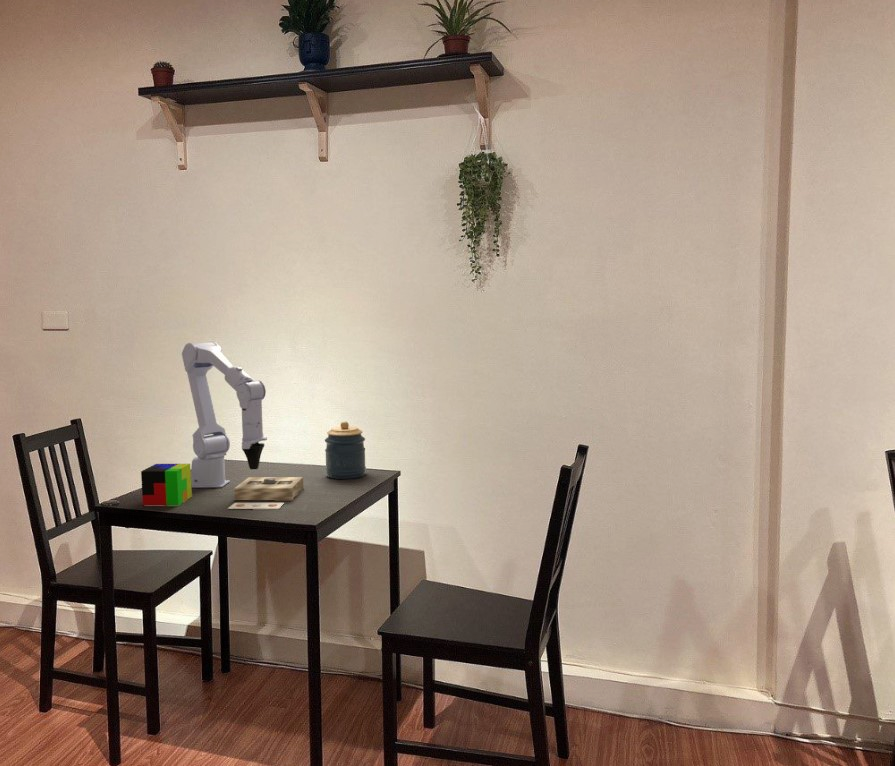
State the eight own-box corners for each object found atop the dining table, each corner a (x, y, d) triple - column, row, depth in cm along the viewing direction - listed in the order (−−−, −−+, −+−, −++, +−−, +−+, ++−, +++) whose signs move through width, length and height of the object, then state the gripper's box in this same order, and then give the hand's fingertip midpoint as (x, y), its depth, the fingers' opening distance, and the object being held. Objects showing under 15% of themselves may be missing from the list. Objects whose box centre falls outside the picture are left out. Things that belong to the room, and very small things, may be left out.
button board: (234, 500, 215) (233, 488, 214) (249, 488, 229) (248, 477, 228) (292, 500, 214) (291, 488, 214) (303, 488, 228) (303, 477, 228)
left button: (247, 491, 220) (247, 484, 220) (250, 488, 223) (250, 482, 223) (258, 491, 220) (258, 484, 220) (261, 488, 223) (261, 482, 223)
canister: (359, 480, 238) (358, 424, 236) (320, 479, 240) (318, 424, 239) (370, 471, 251) (369, 418, 249) (333, 470, 253) (331, 418, 251)
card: (227, 509, 205) (227, 508, 205) (234, 503, 211) (234, 502, 211) (279, 509, 205) (278, 508, 205) (284, 503, 211) (284, 502, 211)
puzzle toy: (157, 497, 220) (156, 463, 219) (191, 497, 219) (190, 463, 218) (142, 506, 210) (141, 471, 209) (178, 506, 209) (176, 471, 208)
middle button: (262, 487, 220) (262, 480, 219) (265, 484, 223) (265, 478, 223) (273, 487, 220) (273, 480, 219) (276, 484, 223) (276, 478, 223)
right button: (278, 491, 220) (277, 484, 219) (281, 488, 223) (280, 482, 223) (289, 491, 219) (288, 484, 219) (291, 488, 223) (291, 481, 222)
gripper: (258, 426, 213) (260, 474, 214) (272, 419, 227) (274, 463, 229) (233, 426, 213) (235, 474, 214) (249, 419, 227) (251, 463, 229)
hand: (254, 468), depth 222 cm, fingers closed
